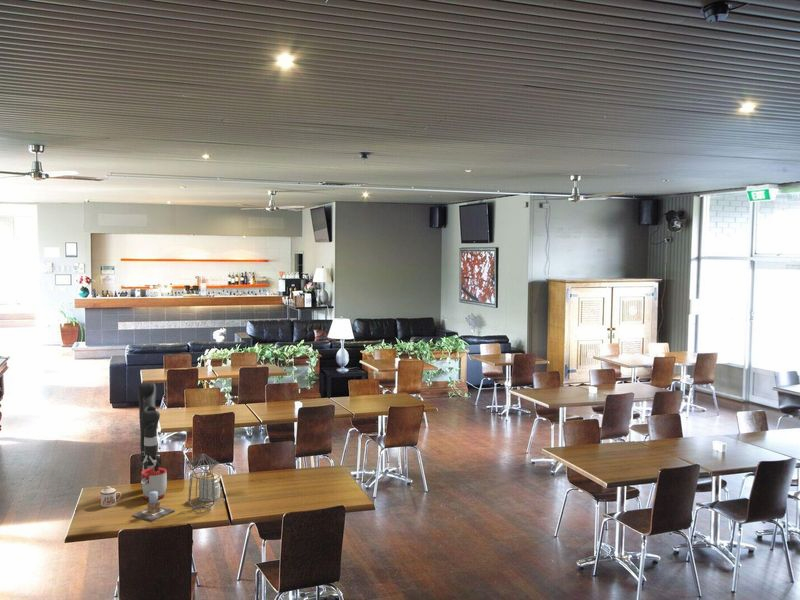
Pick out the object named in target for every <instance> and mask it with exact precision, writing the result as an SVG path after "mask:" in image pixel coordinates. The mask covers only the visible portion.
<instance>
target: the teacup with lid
mask: <svg viewBox="0 0 800 600" xmlns="http://www.w3.org/2000/svg"><path fill="white" fill-rule="evenodd" d="M117 494H119V497H118V498H117ZM121 498H122V493H121V492H120V491H117V489H116V488H114V487H111V486H109V485H108V486H106V488H103V489H101V490H100V506H101V507H102V508H112V507H114V506H116V504H117V501H119V500H120V499H121Z"/></svg>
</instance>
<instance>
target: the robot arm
mask: <svg viewBox="0 0 800 600" xmlns="http://www.w3.org/2000/svg"><path fill="white" fill-rule="evenodd" d="M137 396H138V407H139V409H138V410H139V411H138V412H139V414H138V415H139V417H138V418H139V431H140V436H139V437H140V439H139V441H140V443H139V444H140V445H139V446H140V447H139V449H140V462H142V471H143V470H145V469H149V468H153V467H154V471H155V472H157V471H158V468H159V465H161V464H162V454H158V453H159V443H158V424H159V422H160V416H161V413H160V411H159V410H157V407H156V400H157V386H156V384H155V383H154V382H142V383H139V384H138V385H137ZM145 398H146V399H145Z"/></svg>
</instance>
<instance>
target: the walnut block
mask: <svg viewBox="0 0 800 600" xmlns="http://www.w3.org/2000/svg"><path fill="white" fill-rule="evenodd" d="M160 507H161V501H159V500H158V503H155V504H150V503H149V501H148V502H147V507H146V509H147V508H148V513H151V514H155V513H157V512H160Z"/></svg>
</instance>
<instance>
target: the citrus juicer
mask: <svg viewBox="0 0 800 600" xmlns="http://www.w3.org/2000/svg"><path fill="white" fill-rule="evenodd" d="M167 472H168V470H167V468H165V467H158V471H157V472H155V471H154V467H153V468H149V469H145V470H143V469H142V470H141V481H140V483H141V489H142V493H143V497H144V499H145V500H148V501H149V492H152V491H157V492H158V500H160V499H162V498H164V497H165V495H166V491H167V486H168V485H167V484H168V479H167V477H168V475H167V474H168V473H167Z"/></svg>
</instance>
